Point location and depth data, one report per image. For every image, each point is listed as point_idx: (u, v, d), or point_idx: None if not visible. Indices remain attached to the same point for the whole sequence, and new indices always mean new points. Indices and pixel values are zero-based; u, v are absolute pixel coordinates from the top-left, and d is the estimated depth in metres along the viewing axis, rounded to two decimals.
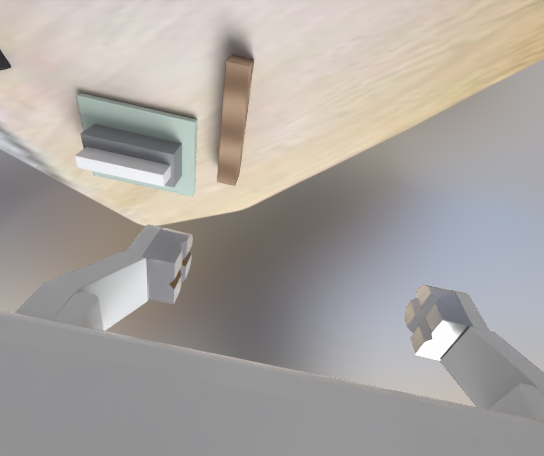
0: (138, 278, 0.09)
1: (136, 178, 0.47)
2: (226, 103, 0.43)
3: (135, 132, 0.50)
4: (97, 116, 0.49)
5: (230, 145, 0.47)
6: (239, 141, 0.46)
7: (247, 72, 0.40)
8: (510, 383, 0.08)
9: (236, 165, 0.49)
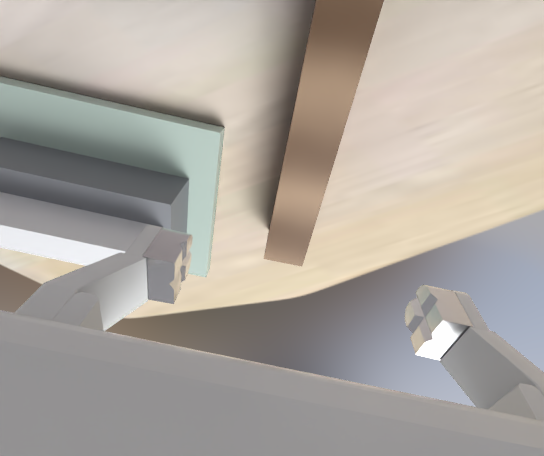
0: (138, 278, 0.09)
1: (82, 260, 0.20)
2: (308, 80, 0.17)
3: (89, 155, 0.23)
4: (6, 120, 0.22)
5: (304, 183, 0.20)
6: (327, 175, 0.20)
7: None
8: (510, 383, 0.08)
9: (311, 227, 0.22)
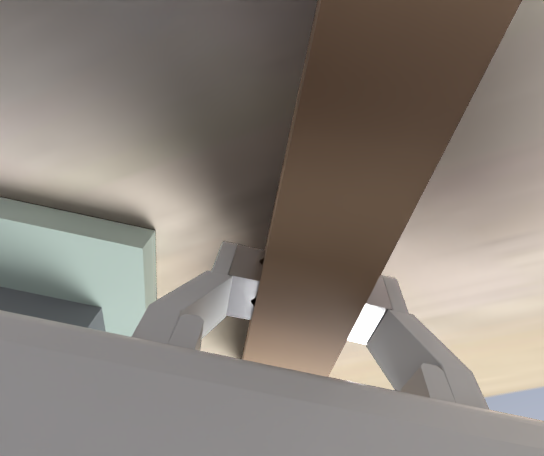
0: (223, 296, 0.09)
1: None
2: (297, 202, 0.07)
3: None
4: None
5: (290, 360, 0.11)
6: (335, 352, 0.10)
7: None
8: (420, 364, 0.08)
9: None
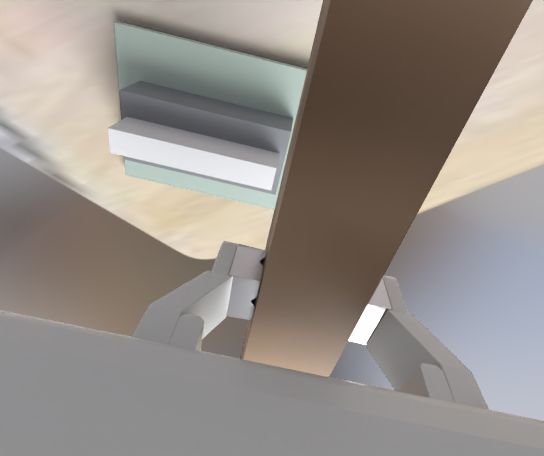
0: (224, 296, 0.09)
1: (221, 174, 0.25)
2: (300, 204, 0.07)
3: (212, 96, 0.28)
4: (148, 66, 0.27)
5: (290, 362, 0.11)
6: (335, 354, 0.10)
7: None
8: (420, 364, 0.08)
9: None
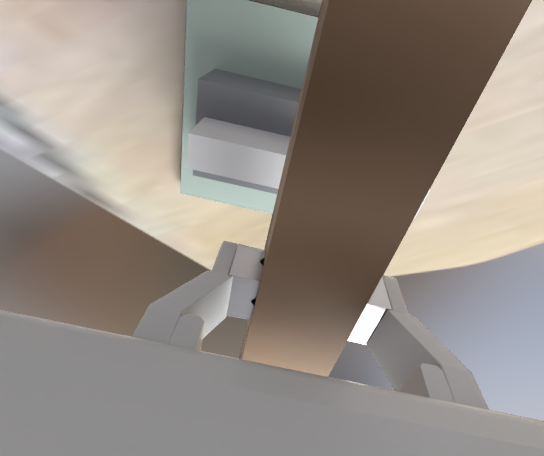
0: (224, 296, 0.09)
1: None
2: (298, 206, 0.07)
3: None
4: (228, 47, 0.20)
5: (288, 363, 0.11)
6: (334, 355, 0.10)
7: None
8: (420, 364, 0.08)
9: None
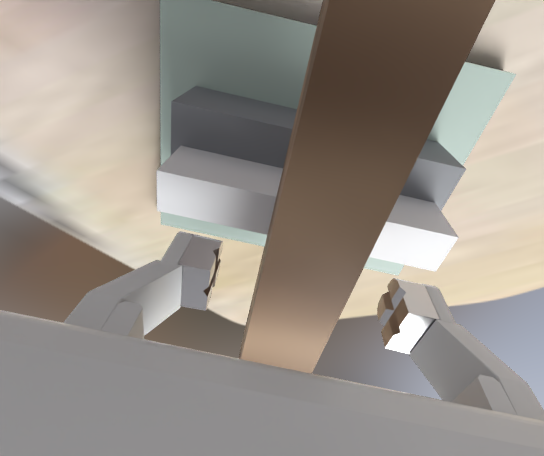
0: (174, 285, 0.09)
1: None
2: (302, 180, 0.08)
3: None
4: (211, 61, 0.17)
5: (291, 330, 0.12)
6: (332, 321, 0.11)
7: None
8: (473, 375, 0.08)
9: None
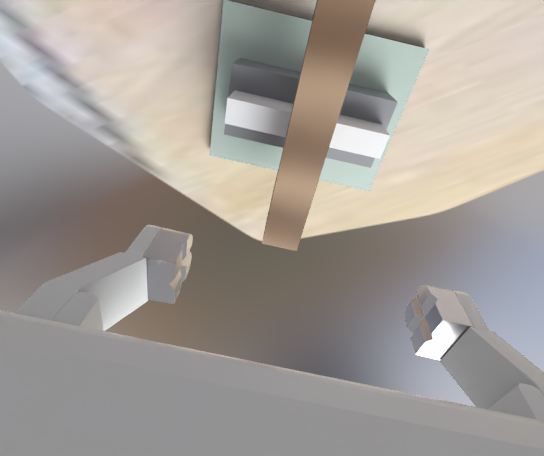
0: (138, 278, 0.09)
1: (332, 143, 0.25)
2: (305, 84, 0.20)
3: None
4: (250, 42, 0.28)
5: (299, 174, 0.23)
6: (320, 167, 0.23)
7: (369, 8, 0.17)
8: (510, 383, 0.08)
9: (305, 214, 0.25)
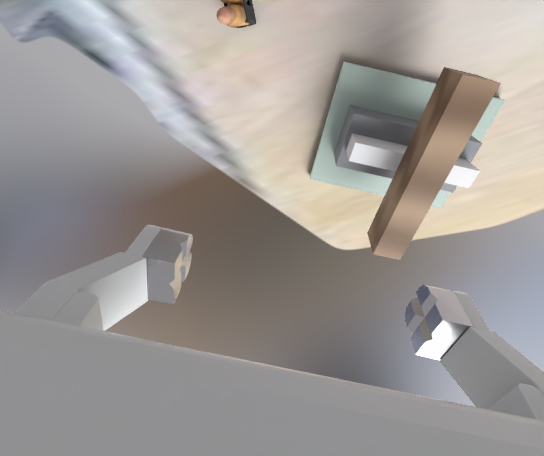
0: (138, 278, 0.09)
1: None
2: (435, 140, 0.27)
3: (405, 116, 0.36)
4: (360, 93, 0.35)
5: (416, 203, 0.30)
6: (433, 198, 0.30)
7: (492, 92, 0.24)
8: (510, 383, 0.08)
9: (414, 232, 0.32)
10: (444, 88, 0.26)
